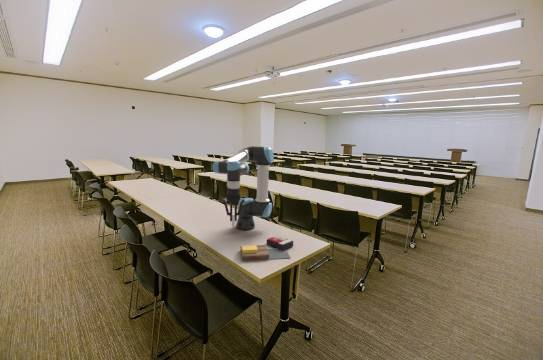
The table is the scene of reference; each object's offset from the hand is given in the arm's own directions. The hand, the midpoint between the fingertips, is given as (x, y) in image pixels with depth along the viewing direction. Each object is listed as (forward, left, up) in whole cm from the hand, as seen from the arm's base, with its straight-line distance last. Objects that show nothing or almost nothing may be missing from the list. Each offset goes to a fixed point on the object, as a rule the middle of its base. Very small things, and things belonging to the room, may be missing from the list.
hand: (233, 226), depth 153 cm
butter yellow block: (0, +10, -16) cm, 19 cm away
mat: (0, +28, -19) cm, 34 cm away
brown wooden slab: (0, +13, -19) cm, 23 cm away
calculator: (-12, +32, -19) cm, 39 cm away
